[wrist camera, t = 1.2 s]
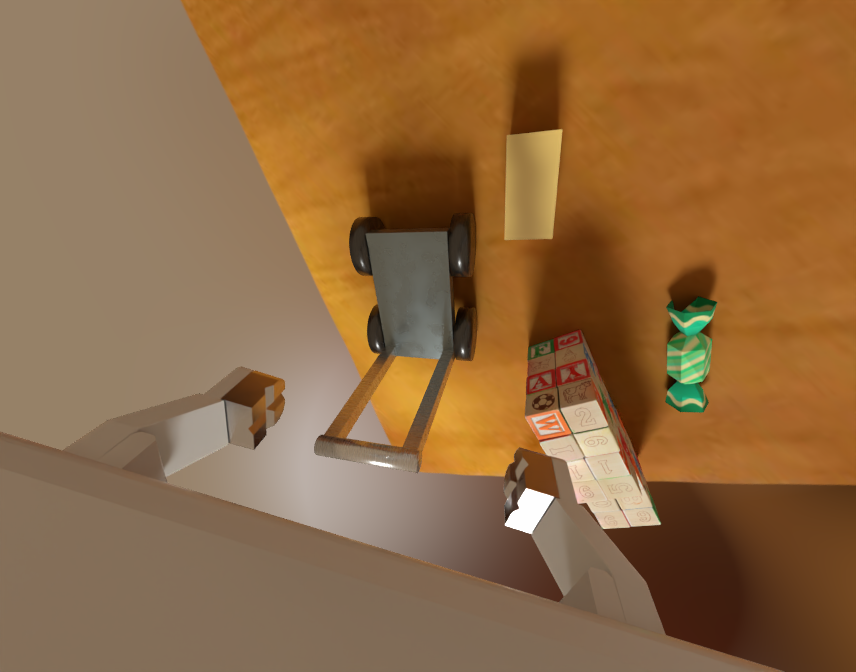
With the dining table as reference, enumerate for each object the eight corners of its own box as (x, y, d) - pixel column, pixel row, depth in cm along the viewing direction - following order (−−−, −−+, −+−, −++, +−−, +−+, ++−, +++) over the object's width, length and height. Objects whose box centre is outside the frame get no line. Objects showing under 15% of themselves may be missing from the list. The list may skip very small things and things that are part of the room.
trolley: (477, 343, 41) (438, 488, 24) (390, 337, 44) (302, 462, 28) (475, 207, 33) (416, 283, 16) (369, 212, 36) (228, 280, 20)
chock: (558, 129, 29) (562, 129, 24) (550, 225, 33) (552, 238, 28) (510, 135, 30) (506, 135, 26) (508, 226, 34) (504, 240, 30)
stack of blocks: (639, 457, 44) (671, 555, 34) (589, 465, 47) (605, 557, 37) (580, 327, 37) (597, 400, 27) (526, 345, 40) (523, 418, 30)
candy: (712, 396, 36) (699, 419, 34) (675, 387, 39) (660, 408, 37) (721, 296, 31) (706, 316, 29) (677, 293, 34) (661, 311, 32)
